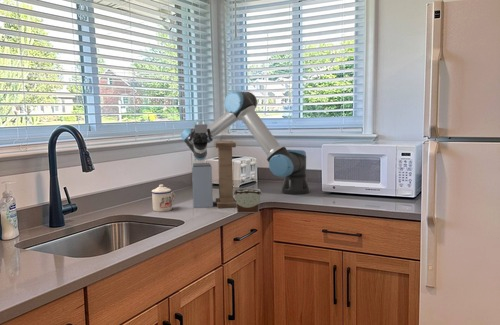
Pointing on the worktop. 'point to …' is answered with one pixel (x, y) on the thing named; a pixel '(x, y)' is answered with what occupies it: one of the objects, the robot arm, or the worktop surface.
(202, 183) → the blue-grey tall block
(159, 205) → the teacup with lid
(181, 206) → the worktop surface
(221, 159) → the stand
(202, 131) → the handle
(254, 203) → the food container
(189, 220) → the worktop surface
